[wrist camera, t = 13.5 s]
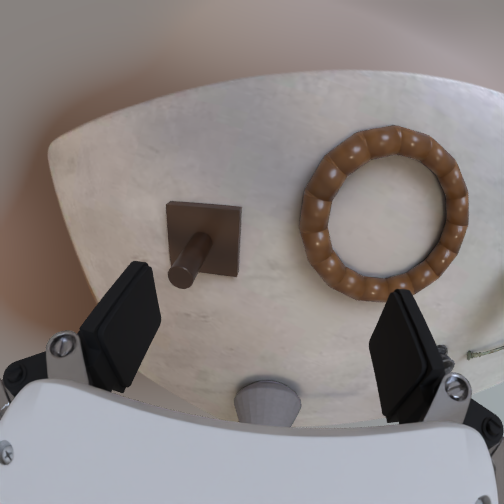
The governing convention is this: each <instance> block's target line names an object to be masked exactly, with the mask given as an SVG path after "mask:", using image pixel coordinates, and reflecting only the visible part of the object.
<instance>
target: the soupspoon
mask: <svg viewBox="0 0 504 504" xmlns="http://www.w3.org/2000/svg"><path fill="white" fill-rule="evenodd" d="M502 349H504V346H502V347H499V348H496V349H493V350H490V351H487V352H483V353H481V352H479V353H477V352H476V353H473V352H472V353H471V351H469V352H468V354H467V360H470V358H473V357H478V356H479V357H480V356H482V355H486V354H490V353H493V352H496V351H499V350H502Z"/></svg>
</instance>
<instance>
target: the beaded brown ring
mask: <svg viewBox="0 0 504 504" xmlns="http://www.w3.org/2000/svg"><path fill="white" fill-rule="evenodd" d="M391 155H401V156H404V157H408V158H412V159H416V160H419V161H421V162H422V163H423V164H424V165H425V166H427V167H428V168H429V169H430V170H431V171H432V172H433V173H435V174H436V175H437V177H438V179H439V182H440V184H441V186H442V188H443V190H444V193H445V195H446V211H447V219H446V223H445V226H444V229H443V232H442V235H441V238H440V241H439V242H438V244H437V245H436V247H435V248H434V249H433V251H432V252H431V253H430V255H429V256H428V257H427V258H426V260H424V261H423V262H422V263H420V264H419V265H417V266H416V267H414V268H413V269H411V270H410V271H408V272H407V273H404V274H400V275H397V276H393V277H389V278H385V279H383V278H374V277H365V276H362V275H360V274H358V273H356V272H355V271H353V270H351V269H349V268H347V267H345V265H344V264H343V263H342V261H341V260H340V259H339V257H338V256H337V255H336V253H335V252H334V251H333V249H332V245H331V240H330V236H329V231H328V227H327V226H328V221H329V215H330V210H331V204H332V200H333V199H334V197H335V195H336V194H337V192H338V191H339V189H340V188H341V186H342V184H343V183H344V181H345V180H346V178H347V176H349V175H350V174H351V173H353V172H354V171H356V170H357V169H358V168H360V167H361V166H363V165H364V164H365V163H367V162H368V161H370V160H372V159H377V158H382V157H386V156H391ZM468 220H469V203H468V190H467V187H466V184H465V182H464V179H463V177H462V174H461V172H460V169H459V167H458V165H457V162H456V161H455V159H454V158H453V157H452V156H451V155H450V154H449V153H448V152H447V151H446V150H445V149H444V148H443V147H442V146H441V145H440V144H438V143H437V142H436V141H435V140H434V139H433V138H432V137H430V136H429V135H427V134H423V133H420V132H417V131H414V130H410V129H407V128H403V127H400V126H395V125H393V126H386V127H381V128H375V129H370V130H365V131H360V132H357V133H355V134H354V135H352V136H351V137H349V138H348V139H347V140H345V141H344V142H342V143H341V144H340V145H338V146H337V147H336V148H334V149H333V150H331V151H330V152H329V153H327V154H326V155H325V156H324V158H323V159H322V161H321V163H320V164H319V166H318V168H317V169H316V171H315V173H314V174H313V176H312V178H311V179H310V181H309V183H308V184H307V186H306V188H305V190H304V196H303V203H302V210H301V217H300V224H299V229H300V233H301V237H302V240H303V244H304V248H305V251H306V255H307V259H308V261H309V263H310V264H311V266H312V267H313V268H314V269H315V270H316V272H317V273H318V274H319V275H320V276H321V278H322V279H323V280H324V281H325V282H326V284H327V285H328V286H329V287H331V288H333V289H335V290H337V291H339V292H341V293H343V294H345V295H347V296H349V297H351V298H353V299H355V300H359V301H371V302H387V299H388V297H389V295H390V293H391V292H394V290H395V289H406V290H410V291H411V293H412V295H414V294H416V293H418V292H419V291H421V290H422V289H424V288H425V287H427V286H428V285H430V284H431V283H433V282H434V281H436V280H437V279H438V278H439V277H440V276H441V275H442V274H443V273H444V271H445V270H446V269H447V268H448V266H449V265H450V264H451V262H452V261H453V260H454V258H455V257H456V256H457V254H458V252H459V250H460V247H461V244H462V241H463V239H464V236H465V233H466V230H467V227H468Z"/></svg>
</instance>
